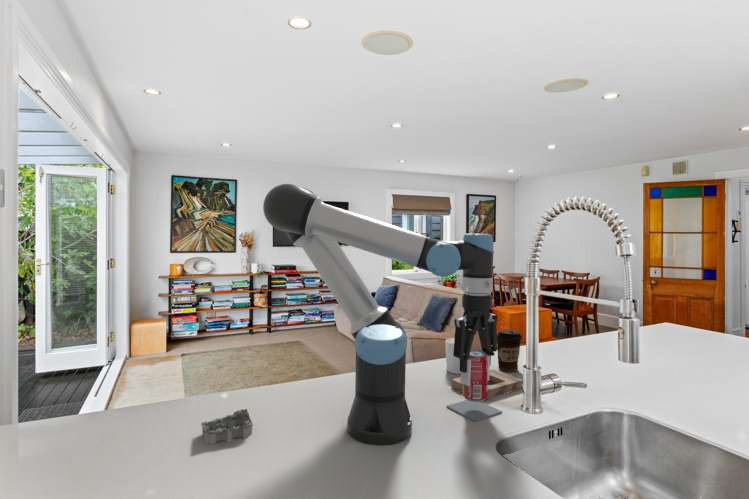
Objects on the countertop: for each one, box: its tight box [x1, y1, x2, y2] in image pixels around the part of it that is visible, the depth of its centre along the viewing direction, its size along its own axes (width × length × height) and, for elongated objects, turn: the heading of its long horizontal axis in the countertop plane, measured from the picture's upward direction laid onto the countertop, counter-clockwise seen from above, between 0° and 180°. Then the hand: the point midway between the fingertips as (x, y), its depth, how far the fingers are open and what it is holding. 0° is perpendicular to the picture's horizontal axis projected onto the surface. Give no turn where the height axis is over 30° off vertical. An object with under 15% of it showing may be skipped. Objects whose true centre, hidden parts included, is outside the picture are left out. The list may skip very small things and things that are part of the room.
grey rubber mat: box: [446, 399, 503, 423], centre depth 112 cm, size 10×10×1 cm
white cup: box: [445, 337, 465, 375], centre depth 142 cm, size 8×8×10 cm
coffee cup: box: [497, 329, 523, 373], centre depth 144 cm, size 9×8×13 cm
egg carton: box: [201, 408, 254, 445], centre depth 97 cm, size 11×8×4 cm
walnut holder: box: [451, 368, 524, 401], centre depth 127 cm, size 18×12×2 cm, turn 123°
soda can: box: [461, 349, 489, 402], centre depth 111 cm, size 6×6×12 cm
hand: (474, 381), depth 111 cm, fingers closed on soda can, 6 cm apart
